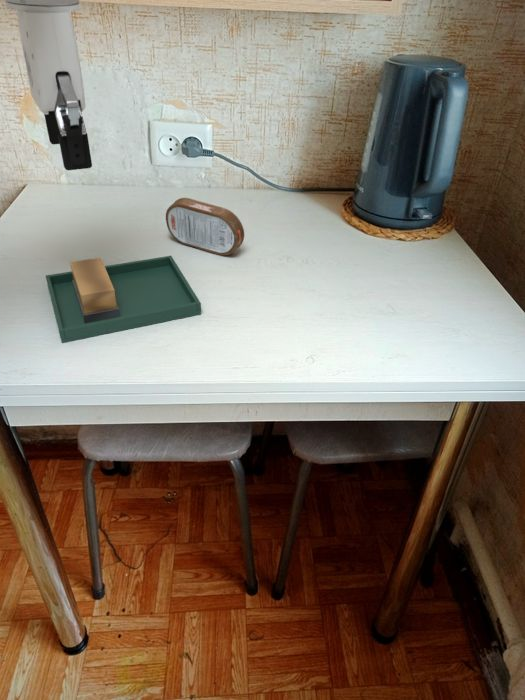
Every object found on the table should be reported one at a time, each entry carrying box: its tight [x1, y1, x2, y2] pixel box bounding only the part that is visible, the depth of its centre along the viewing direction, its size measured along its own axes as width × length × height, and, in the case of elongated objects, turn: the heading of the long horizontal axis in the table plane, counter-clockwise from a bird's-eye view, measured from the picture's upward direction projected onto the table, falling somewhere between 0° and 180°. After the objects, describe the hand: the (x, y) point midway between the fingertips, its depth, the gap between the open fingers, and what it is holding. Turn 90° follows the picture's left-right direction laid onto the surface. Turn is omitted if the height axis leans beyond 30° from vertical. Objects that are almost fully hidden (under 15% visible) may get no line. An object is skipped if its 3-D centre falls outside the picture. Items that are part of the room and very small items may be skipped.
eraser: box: [69, 257, 120, 324], centre depth 76 cm, size 5×10×5 cm, turn 25°
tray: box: [45, 255, 202, 344], centre depth 78 cm, size 20×15×2 cm
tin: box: [165, 197, 245, 256], centre depth 91 cm, size 15×3×8 cm, turn 65°
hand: (70, 155), depth 65 cm, fingers open, 9 cm apart
